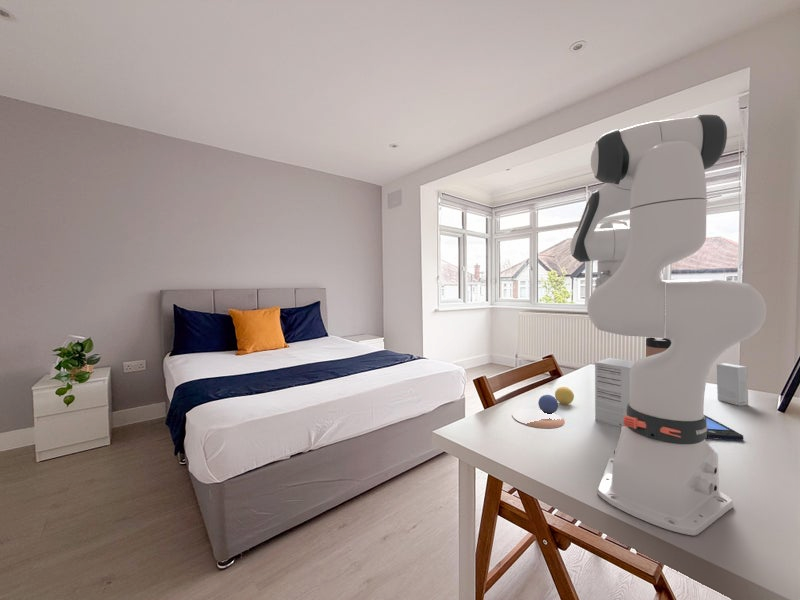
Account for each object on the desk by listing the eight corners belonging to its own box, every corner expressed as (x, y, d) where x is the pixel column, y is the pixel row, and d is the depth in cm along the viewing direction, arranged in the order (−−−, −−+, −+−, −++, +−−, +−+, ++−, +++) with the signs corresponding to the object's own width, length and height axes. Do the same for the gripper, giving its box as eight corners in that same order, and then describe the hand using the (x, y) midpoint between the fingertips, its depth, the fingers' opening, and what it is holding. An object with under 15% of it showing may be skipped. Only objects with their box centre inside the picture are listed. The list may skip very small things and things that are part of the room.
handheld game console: (747, 443, 80) (747, 405, 79) (683, 438, 82) (683, 402, 82) (702, 418, 95) (702, 386, 95) (649, 415, 98) (649, 384, 97)
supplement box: (608, 412, 100) (608, 356, 99) (645, 422, 92) (645, 362, 92) (594, 420, 94) (594, 361, 93) (631, 431, 87) (631, 367, 86)
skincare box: (749, 405, 104) (749, 366, 103) (738, 406, 103) (738, 367, 102) (725, 398, 110) (726, 362, 109) (715, 399, 109) (716, 363, 108)
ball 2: (578, 393, 107) (574, 409, 105) (562, 391, 112) (557, 405, 110) (571, 384, 105) (566, 400, 103) (554, 382, 109) (549, 397, 107)
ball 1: (563, 405, 100) (556, 420, 97) (545, 401, 104) (538, 414, 101) (558, 393, 98) (551, 407, 95) (540, 389, 102) (533, 402, 99)
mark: (549, 433, 86) (549, 432, 86) (502, 417, 97) (502, 416, 97) (573, 419, 95) (573, 418, 95) (528, 406, 106) (528, 405, 106)
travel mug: (661, 403, 106) (661, 341, 106) (639, 395, 114) (639, 338, 113) (680, 401, 108) (681, 340, 107) (657, 393, 115) (658, 337, 115)
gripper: (611, 269, 101) (611, 315, 101) (634, 271, 114) (633, 311, 114) (589, 271, 106) (589, 314, 106) (613, 272, 119) (613, 310, 119)
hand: (612, 312), depth 110 cm, fingers closed
